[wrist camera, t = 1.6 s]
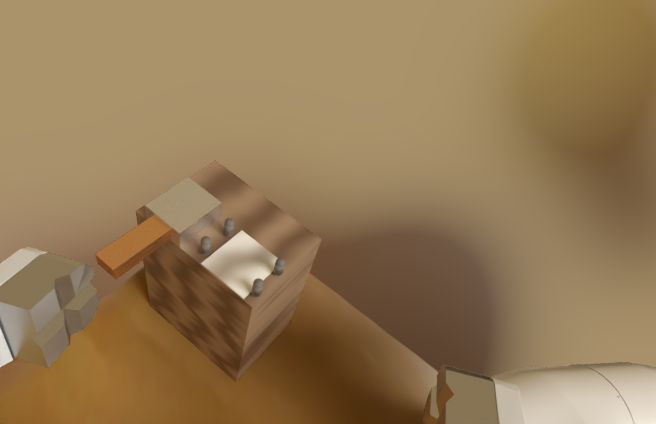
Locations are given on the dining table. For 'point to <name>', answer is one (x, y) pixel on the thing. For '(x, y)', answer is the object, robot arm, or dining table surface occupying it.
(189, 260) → the tall wood grain block
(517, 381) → the robot arm
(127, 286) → the dining table surface
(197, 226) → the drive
